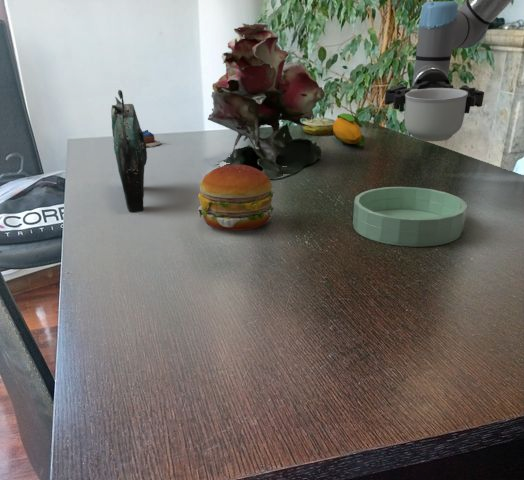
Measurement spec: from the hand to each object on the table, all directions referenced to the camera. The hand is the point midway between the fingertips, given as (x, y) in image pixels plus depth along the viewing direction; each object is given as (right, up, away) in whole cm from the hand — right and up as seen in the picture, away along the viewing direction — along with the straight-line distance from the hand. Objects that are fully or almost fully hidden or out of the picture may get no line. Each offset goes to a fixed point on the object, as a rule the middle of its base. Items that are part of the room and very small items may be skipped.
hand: (434, 104), depth 102 cm
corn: (-7, +13, +56) cm, 57 cm away
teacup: (0, -4, +5) cm, 7 cm away
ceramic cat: (-57, -13, +15) cm, 60 cm away
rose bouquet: (-31, +2, +39) cm, 50 cm away
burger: (-36, -21, +1) cm, 41 cm away
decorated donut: (-14, +21, +70) cm, 74 cm away
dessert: (-64, +14, +58) cm, 87 cm away
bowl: (-6, -23, -2) cm, 23 cm away
